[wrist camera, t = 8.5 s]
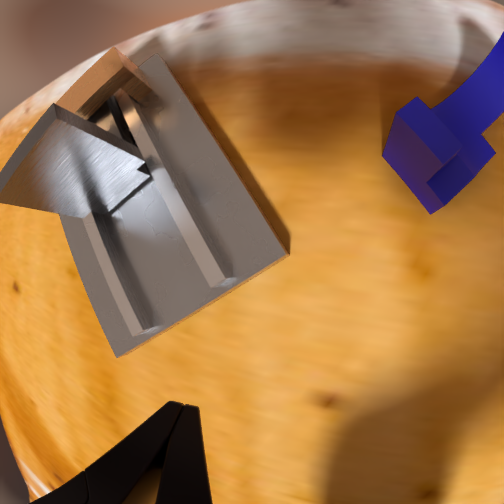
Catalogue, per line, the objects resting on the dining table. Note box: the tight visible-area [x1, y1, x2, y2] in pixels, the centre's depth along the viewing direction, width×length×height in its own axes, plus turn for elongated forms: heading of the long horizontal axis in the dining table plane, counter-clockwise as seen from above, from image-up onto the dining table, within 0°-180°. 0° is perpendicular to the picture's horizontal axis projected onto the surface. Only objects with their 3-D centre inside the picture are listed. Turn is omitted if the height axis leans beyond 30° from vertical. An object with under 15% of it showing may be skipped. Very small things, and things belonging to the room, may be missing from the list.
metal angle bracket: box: [0, 95, 150, 218], centre depth 17 cm, size 10×6×9 cm, turn 31°
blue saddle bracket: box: [382, 32, 504, 214], centre depth 13 cm, size 12×4×6 cm, turn 127°
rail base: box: [56, 47, 289, 358], centre depth 19 cm, size 19×14×5 cm
